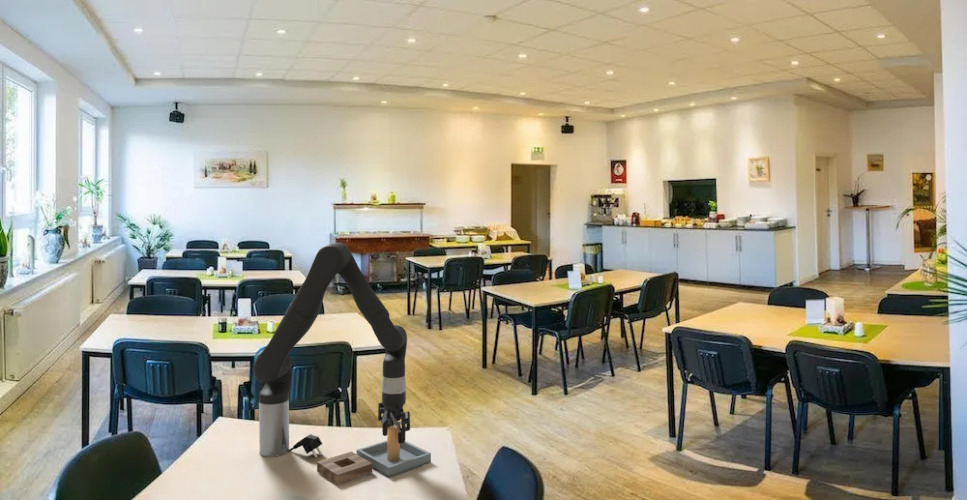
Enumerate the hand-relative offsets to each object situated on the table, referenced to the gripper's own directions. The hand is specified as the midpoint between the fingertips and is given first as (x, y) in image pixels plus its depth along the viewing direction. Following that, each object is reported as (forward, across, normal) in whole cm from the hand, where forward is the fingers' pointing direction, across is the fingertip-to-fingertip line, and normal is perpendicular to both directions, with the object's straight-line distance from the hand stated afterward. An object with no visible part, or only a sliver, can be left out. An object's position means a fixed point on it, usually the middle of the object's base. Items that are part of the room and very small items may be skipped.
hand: (393, 439), depth 194 cm
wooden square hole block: (+7, -3, -16) cm, 18 cm away
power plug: (+7, -24, -18) cm, 31 cm away
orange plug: (+6, 0, 0) cm, 7 cm away
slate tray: (+7, 0, 0) cm, 7 cm away
